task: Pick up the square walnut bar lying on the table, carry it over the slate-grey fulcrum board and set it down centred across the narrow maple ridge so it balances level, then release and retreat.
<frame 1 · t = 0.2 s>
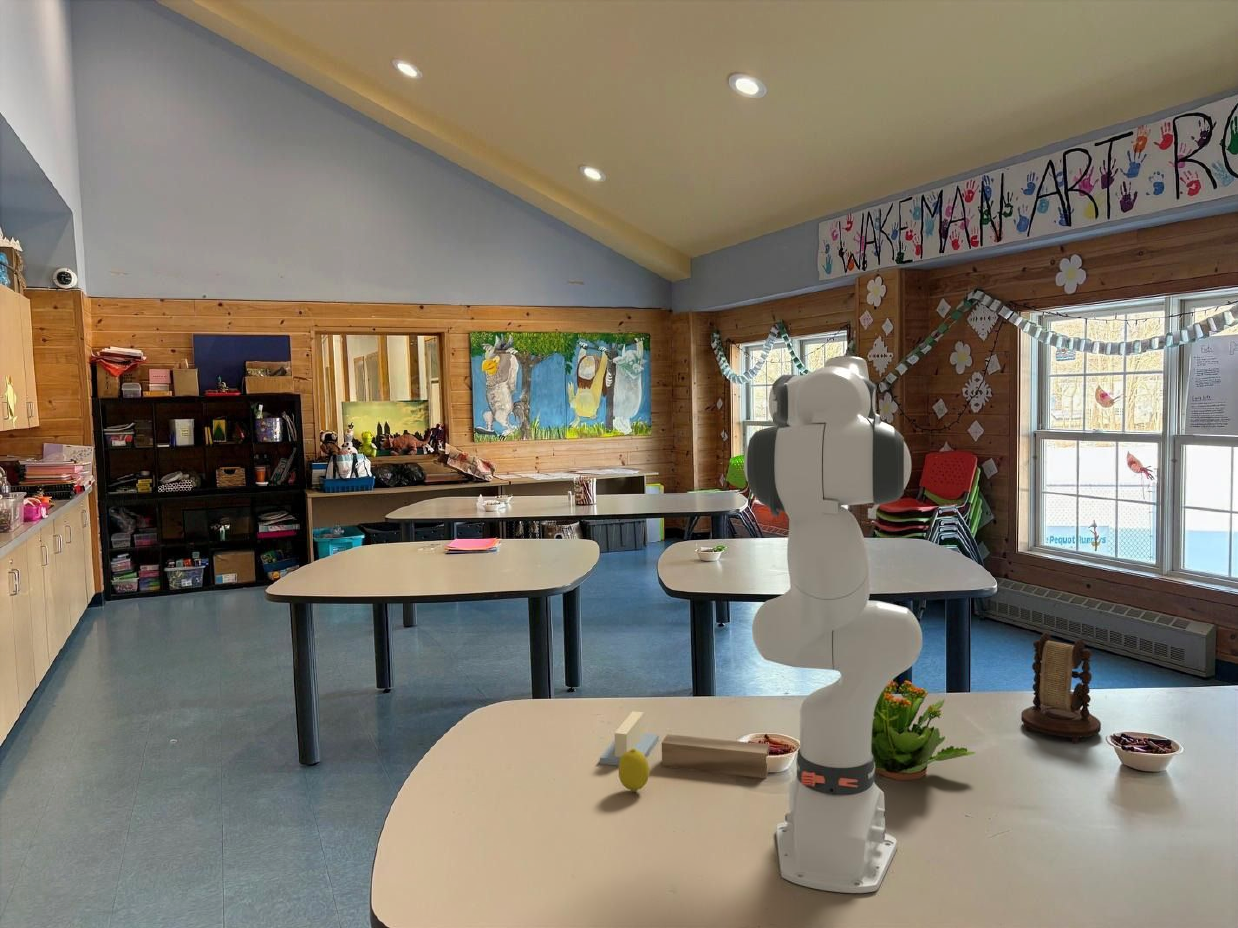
hand: (845, 517, 168), 47 cm above the table, fingers open, 8 cm apart
fulcrum: (630, 751, 180), on the table
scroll: (1060, 731, 186), on the table
lemon: (634, 792, 162), on the table
walnut bar: (715, 768, 172), on the table
potted flower: (902, 772, 168), on the table
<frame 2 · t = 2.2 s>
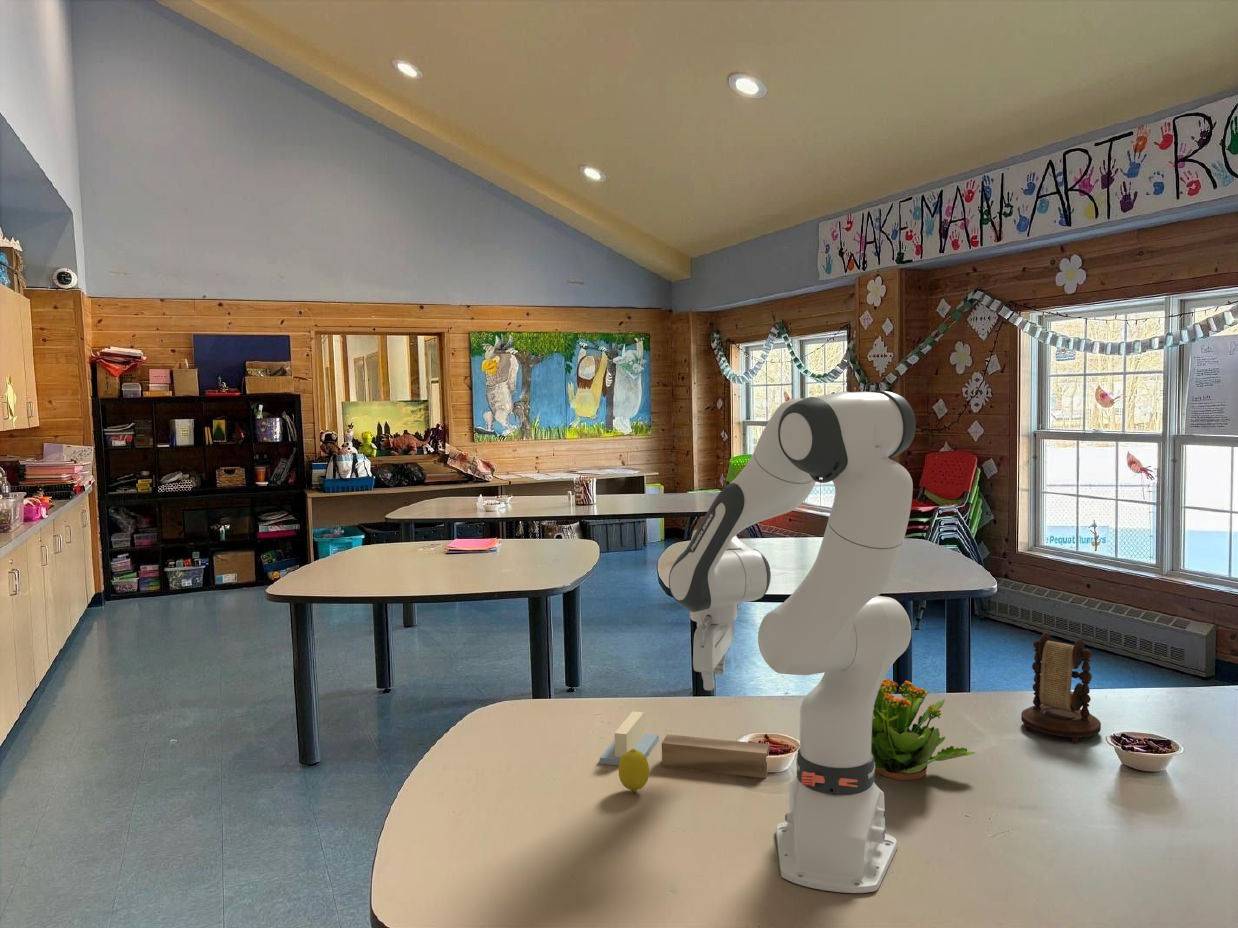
hand: (714, 680, 170), 17 cm above the table, fingers open, 8 cm apart
nothing on the table moved.
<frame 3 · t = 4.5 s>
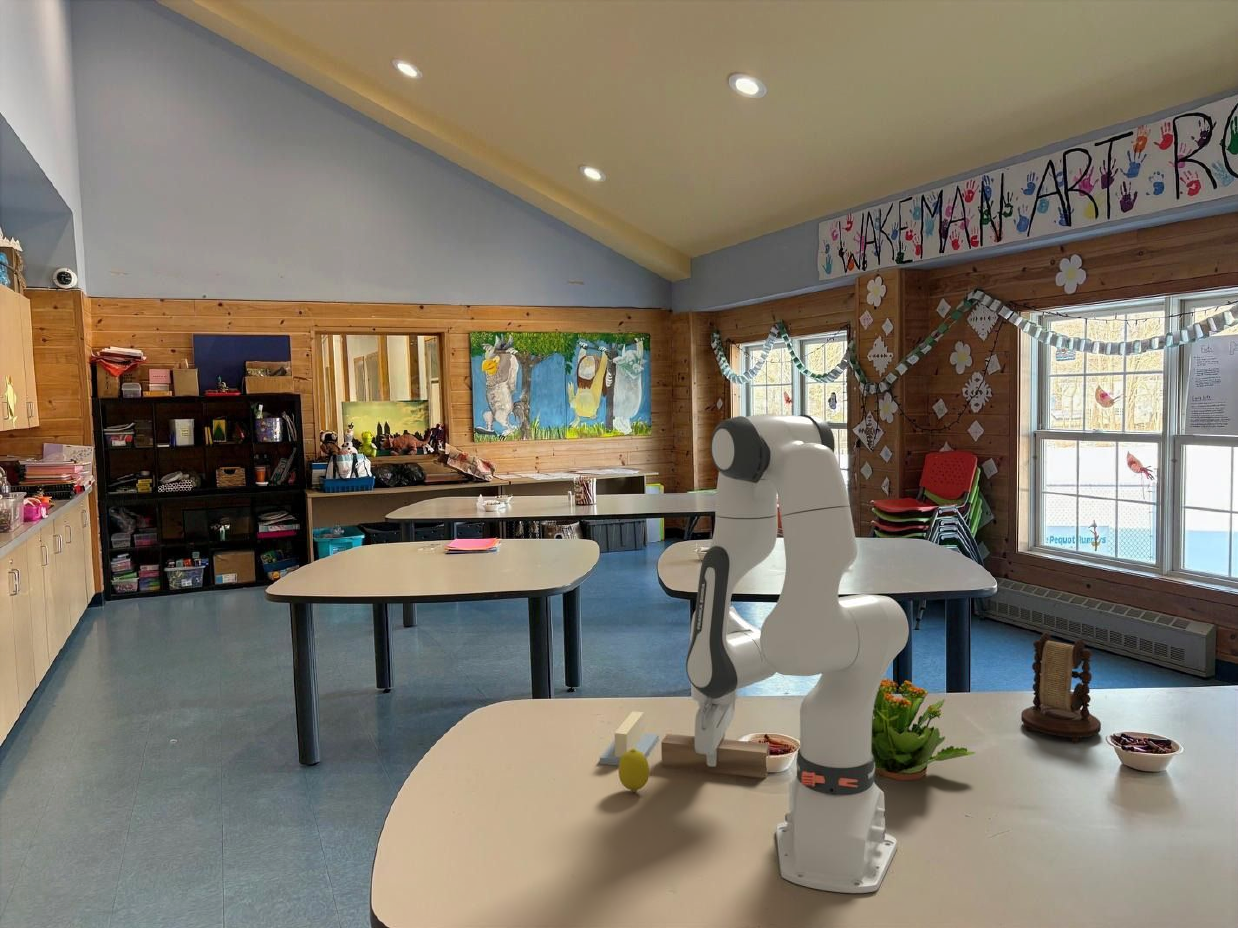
hand: (715, 758, 172), 2 cm above the table, fingers closed on walnut bar, 4 cm apart
walnut bar: (715, 768, 172), on the table, touching gripper
everything else where it was.
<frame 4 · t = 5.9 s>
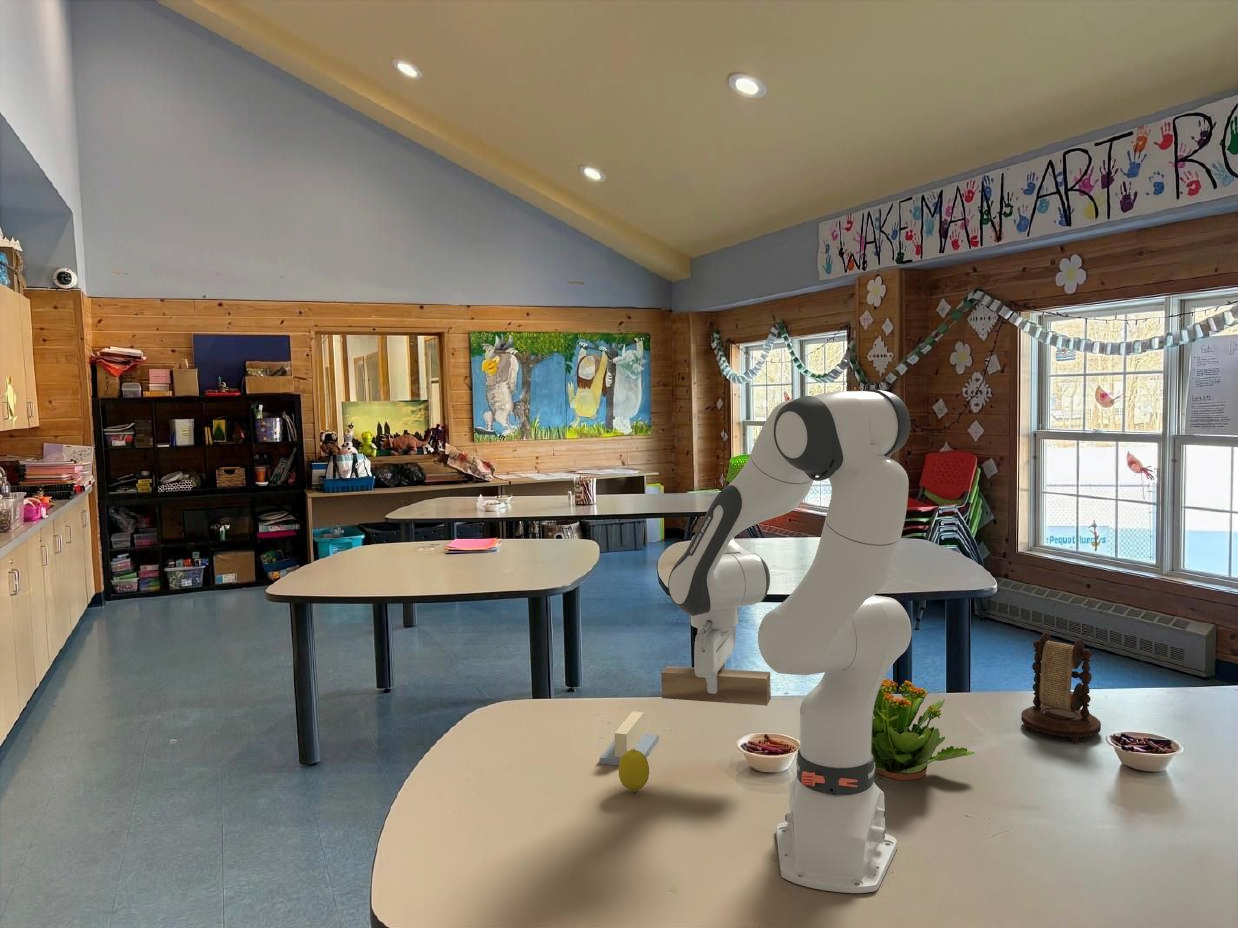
hand: (716, 687, 170), 16 cm above the table, fingers closed on walnut bar, 4 cm apart
walnut bar: (716, 698, 170), point 14 cm above the table, touching gripper
everything else where it was.
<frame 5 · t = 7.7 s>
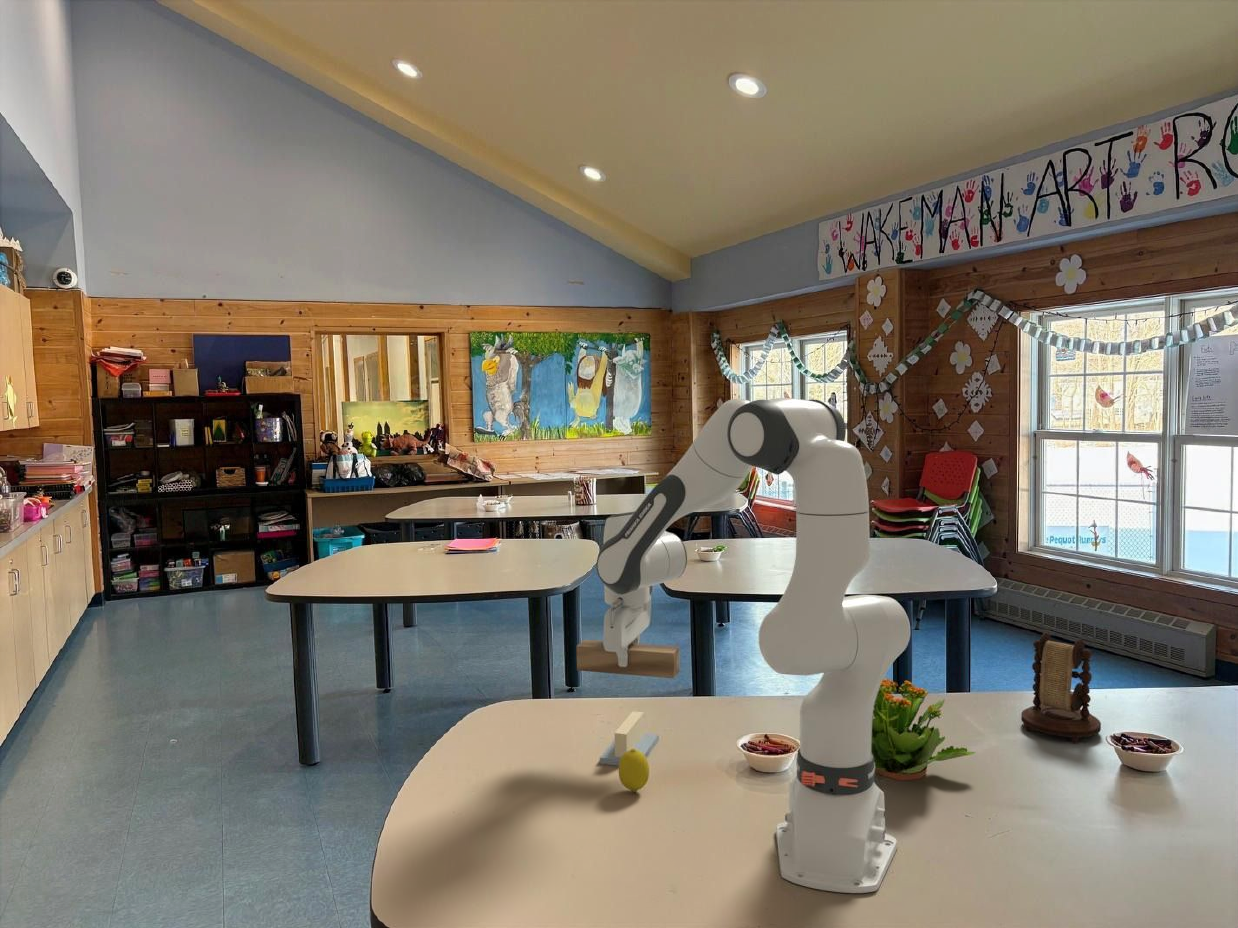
hand: (628, 661, 178), 19 cm above the table, fingers closed on walnut bar, 4 cm apart
walnut bar: (628, 670, 179), point 17 cm above the table, touching gripper
everything else where it was.
when the fingers open (9 cm above the table, at t = 10.1 s): walnut bar stays where it is, resting on fulcrum.
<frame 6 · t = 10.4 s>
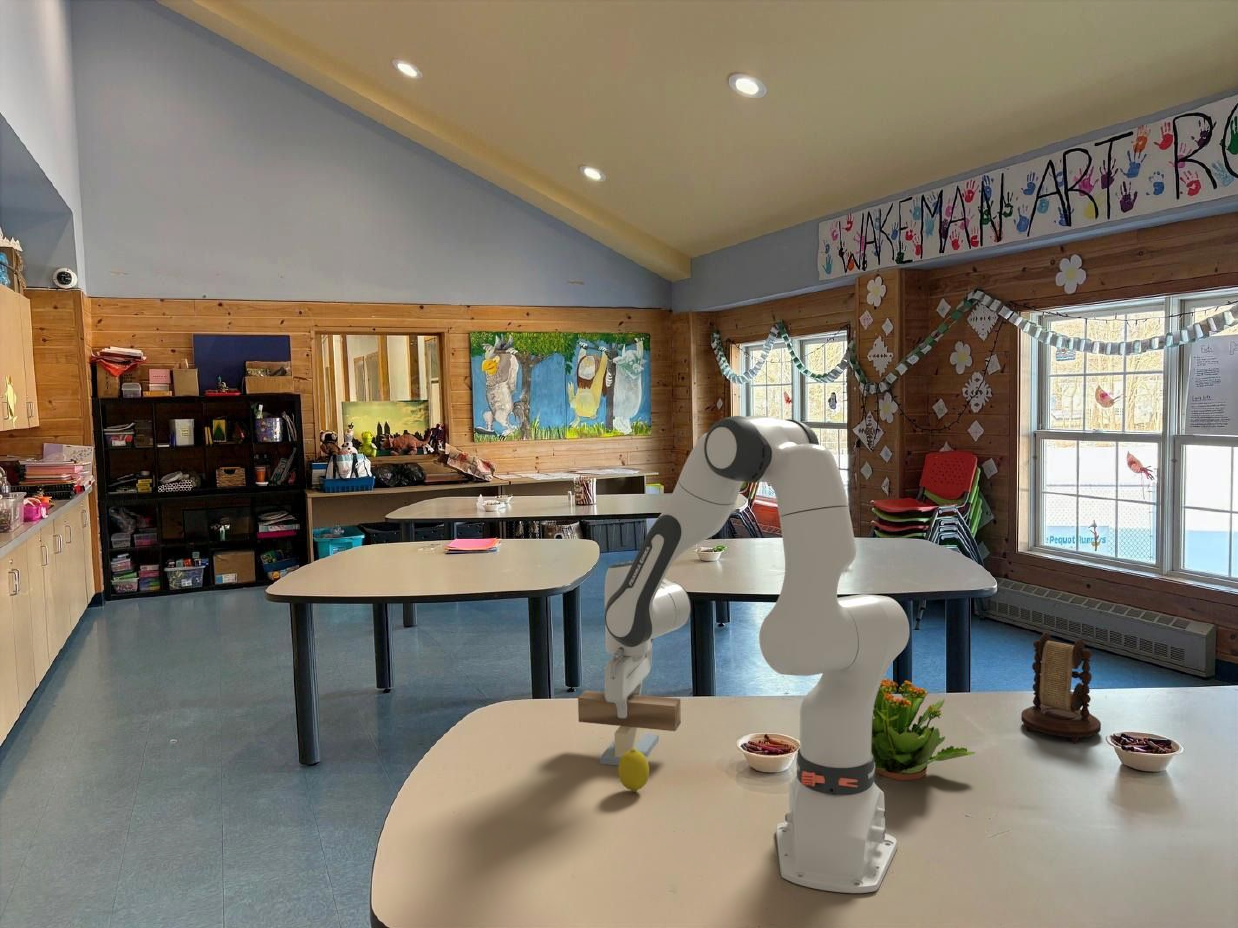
hand: (629, 709, 179), 9 cm above the table, fingers open, 7 cm apart
walnut bar: (629, 722, 179), point 6 cm above the table, touching fulcrum
everything else where it was.
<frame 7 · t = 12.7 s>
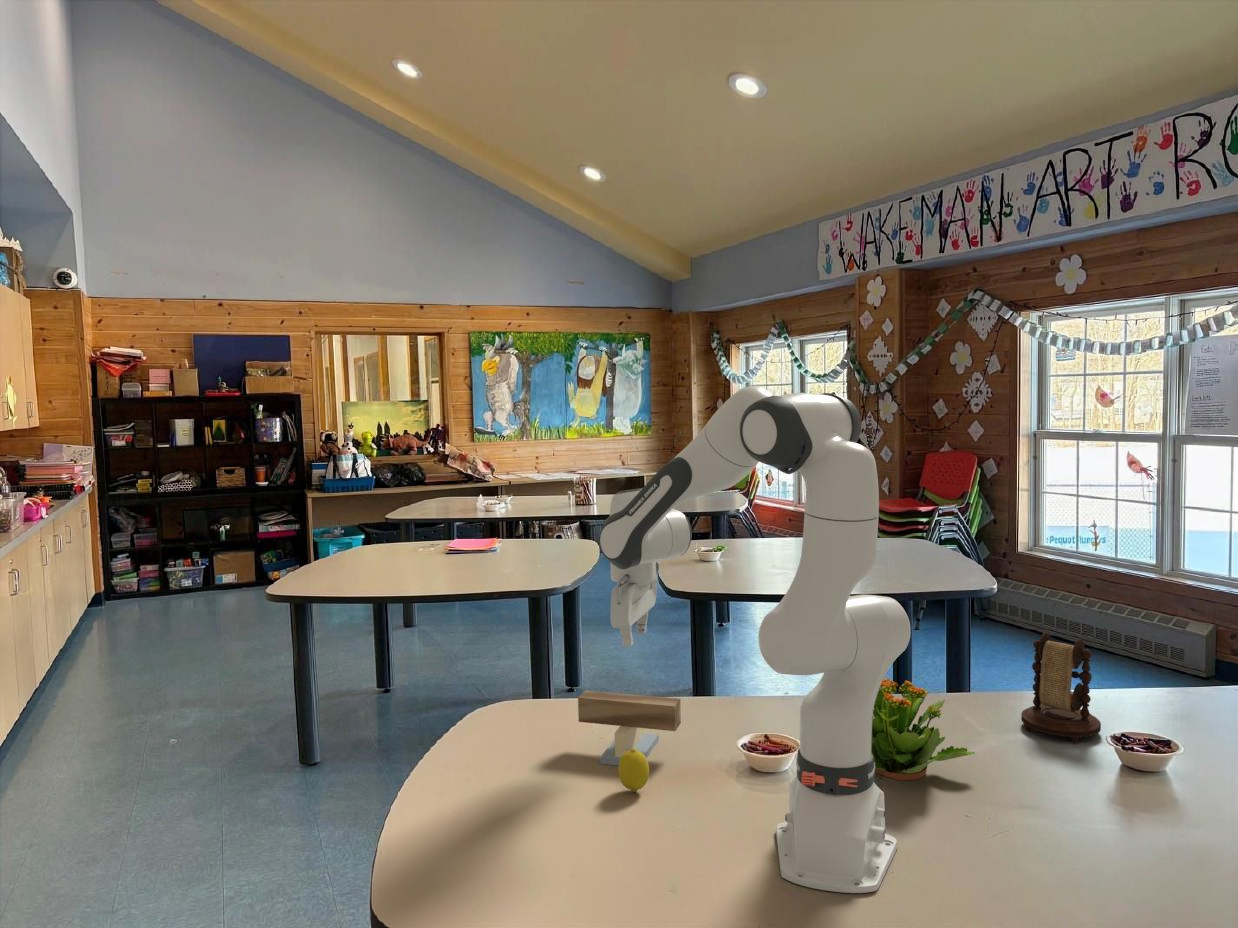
hand: (634, 639, 178), 23 cm above the table, fingers open, 8 cm apart
nothing on the table moved.
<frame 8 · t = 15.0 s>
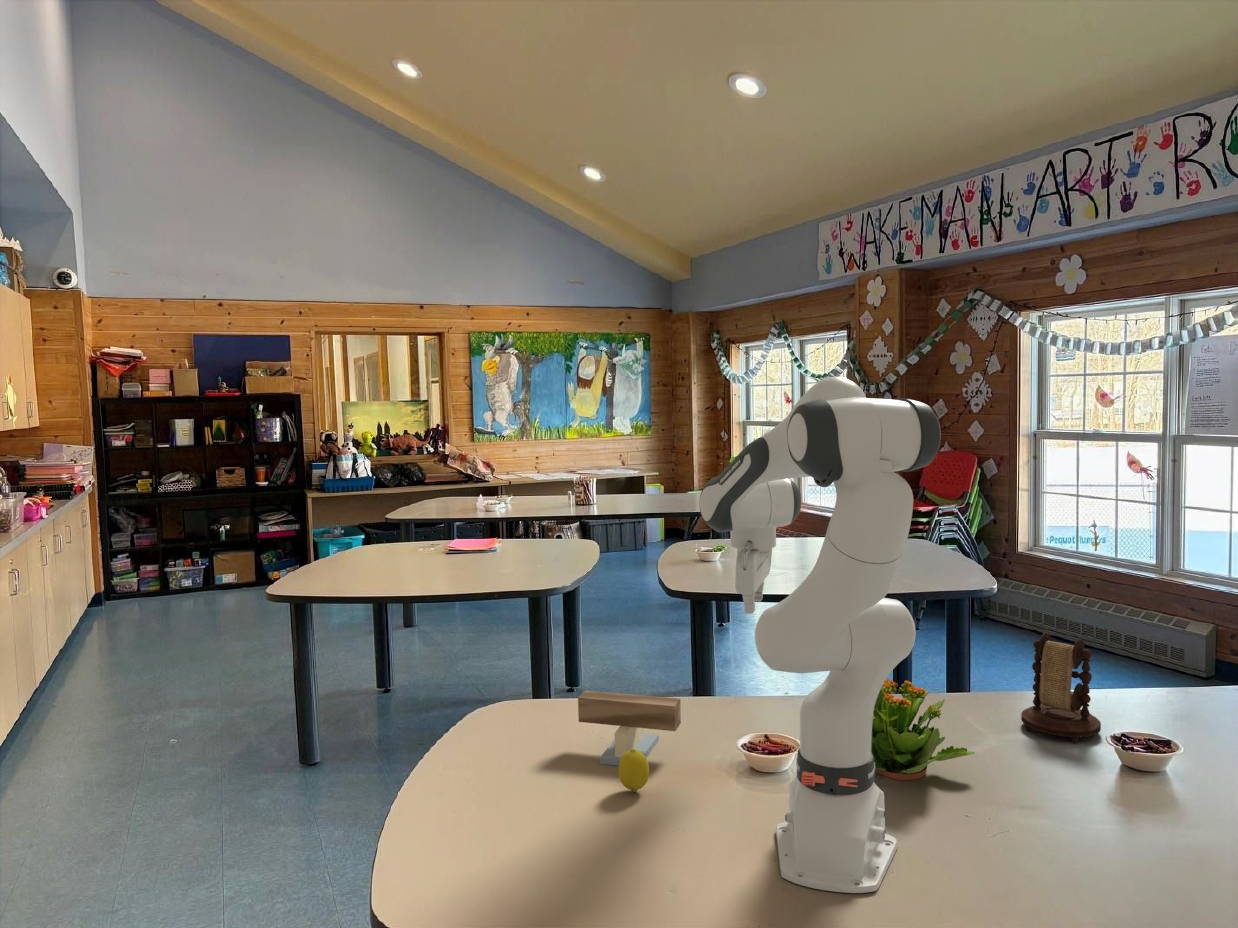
hand: (753, 606, 177), 29 cm above the table, fingers open, 8 cm apart
nothing on the table moved.
at the end: walnut bar tilted 0°; walnut bar point 6.0 cm above the table; walnut bar touching fulcrum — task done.
